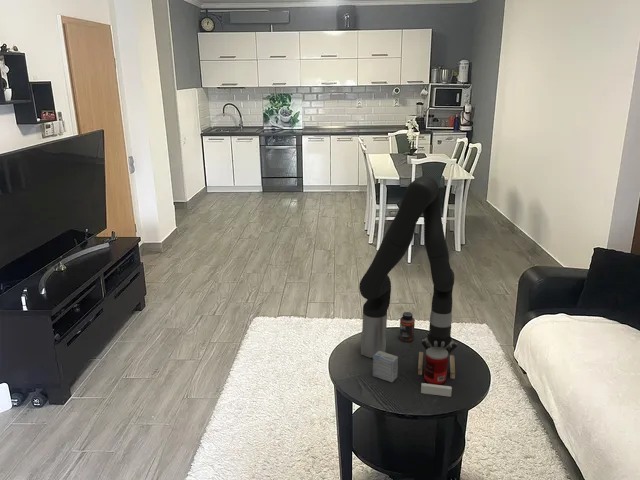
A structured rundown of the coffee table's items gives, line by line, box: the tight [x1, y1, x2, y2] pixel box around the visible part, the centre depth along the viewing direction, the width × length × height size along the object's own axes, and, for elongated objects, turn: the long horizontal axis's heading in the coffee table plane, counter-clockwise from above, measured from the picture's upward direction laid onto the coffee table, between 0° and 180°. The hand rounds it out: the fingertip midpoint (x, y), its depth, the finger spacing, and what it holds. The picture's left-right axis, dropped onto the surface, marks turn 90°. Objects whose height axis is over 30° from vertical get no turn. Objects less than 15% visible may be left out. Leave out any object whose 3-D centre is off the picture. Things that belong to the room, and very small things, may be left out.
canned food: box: [423, 346, 449, 385], centre depth 180 cm, size 8×8×11 cm
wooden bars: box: [417, 351, 456, 380], centre depth 189 cm, size 13×12×2 cm
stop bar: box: [420, 382, 453, 398], centre depth 173 cm, size 10×2×3 cm, turn 78°
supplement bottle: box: [398, 311, 416, 342], centre depth 209 cm, size 6×6×11 cm
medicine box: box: [372, 351, 399, 383], centre depth 182 cm, size 8×4×9 cm, turn 56°
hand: (437, 364), depth 186 cm, fingers closed
